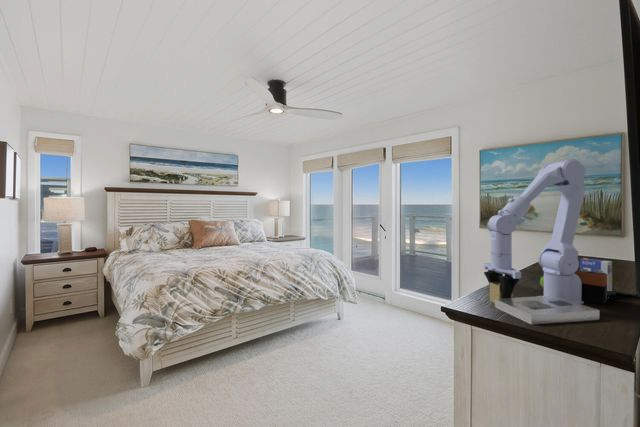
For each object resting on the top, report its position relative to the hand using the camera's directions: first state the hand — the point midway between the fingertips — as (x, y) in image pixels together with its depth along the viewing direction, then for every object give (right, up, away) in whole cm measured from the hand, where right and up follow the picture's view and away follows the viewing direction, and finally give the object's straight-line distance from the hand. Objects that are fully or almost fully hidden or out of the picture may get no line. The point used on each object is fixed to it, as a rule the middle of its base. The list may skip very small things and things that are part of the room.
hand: (501, 296), depth 101 cm
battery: (+28, -2, 0) cm, 28 cm away
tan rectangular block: (0, -2, 0) cm, 2 cm away
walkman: (+35, -1, +7) cm, 36 cm away
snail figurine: (+24, -1, +13) cm, 28 cm away
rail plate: (+6, -2, -10) cm, 12 cm away
